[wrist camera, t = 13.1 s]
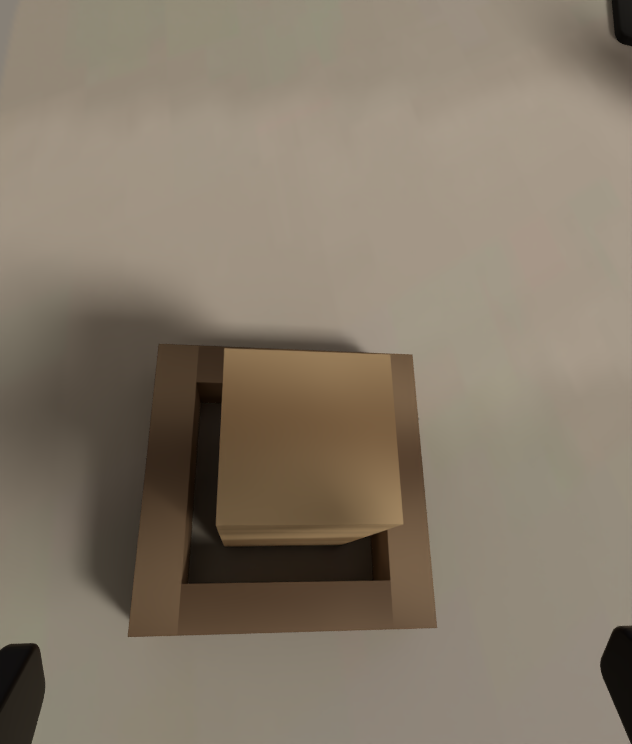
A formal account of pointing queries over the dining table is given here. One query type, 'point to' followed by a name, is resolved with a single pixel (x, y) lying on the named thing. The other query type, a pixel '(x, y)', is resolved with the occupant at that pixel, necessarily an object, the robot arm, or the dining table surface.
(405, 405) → the walnut holder
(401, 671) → the dining table surface
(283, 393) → the oak block
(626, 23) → the cell phone
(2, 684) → the robot arm
